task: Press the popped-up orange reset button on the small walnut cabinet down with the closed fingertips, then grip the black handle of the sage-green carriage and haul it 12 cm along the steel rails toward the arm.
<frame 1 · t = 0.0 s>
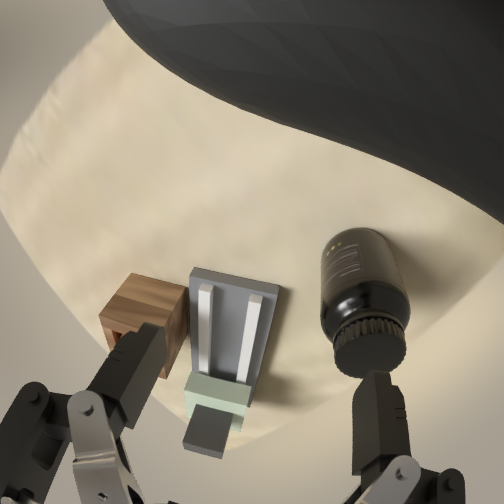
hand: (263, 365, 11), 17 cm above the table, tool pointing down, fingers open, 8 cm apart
supplement bottle: (356, 256, 27), on the table
reset button: (133, 349, 29), point 7 cm above the table, slide at 0.0 cm
carriage: (211, 422, 35), point 8 cm above the table, slide at 0.0 cm
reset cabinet: (159, 305, 35), on the table
track: (228, 349, 37), on the table
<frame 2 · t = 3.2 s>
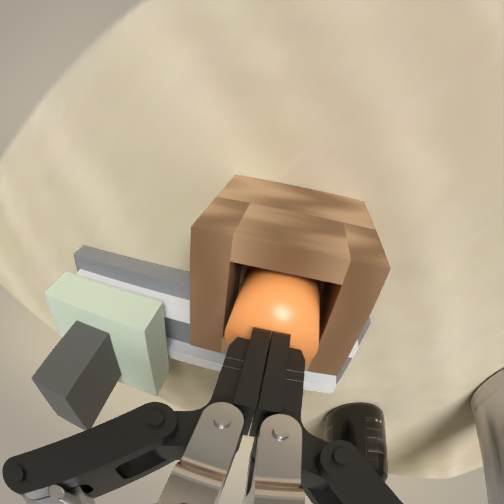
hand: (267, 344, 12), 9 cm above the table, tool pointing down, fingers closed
supplement bottle: (354, 414, 29), on the table
reset button: (277, 311, 13), point 7 cm above the table, slide at 0.3 cm, touching gripper
carriage: (90, 362, 19), point 8 cm above the table, slide at 0.0 cm
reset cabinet: (289, 237, 20), on the table
track: (208, 320, 25), on the table
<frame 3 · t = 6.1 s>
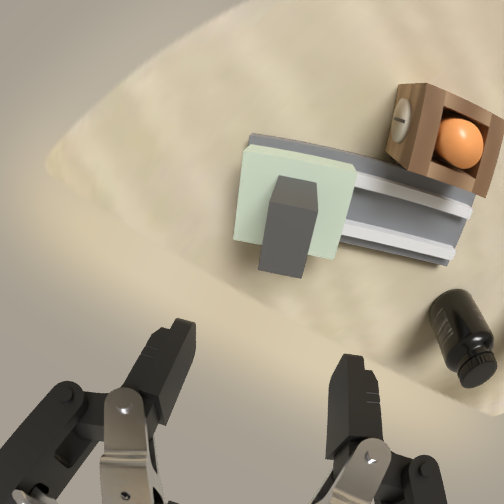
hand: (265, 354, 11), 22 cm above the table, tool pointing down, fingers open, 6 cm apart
supplement bottle: (450, 306, 33), on the table
reset button: (453, 139, 19), point 6 cm above the table, slide at 1.5 cm, touching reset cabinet
carriage: (291, 214, 23), point 8 cm above the table, slide at 0.0 cm
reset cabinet: (428, 129, 24), on the table
track: (362, 199, 29), on the table
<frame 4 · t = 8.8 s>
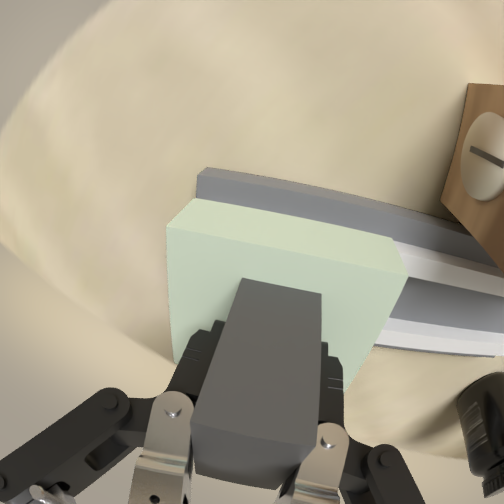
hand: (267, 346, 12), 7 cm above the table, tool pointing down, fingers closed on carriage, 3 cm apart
supplement bottle: (483, 388, 21), on the table
carriage: (265, 359, 11), point 8 cm above the table, slide at 0.0 cm, touching gripper
track: (393, 278, 17), on the table
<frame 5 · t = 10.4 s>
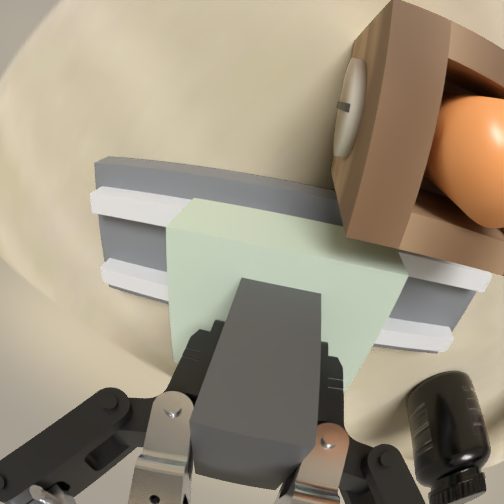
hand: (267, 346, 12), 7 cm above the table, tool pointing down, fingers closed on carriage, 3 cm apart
supplement bottle: (438, 388, 22), on the table
reset button: (473, 150, 7), point 6 cm above the table, slide at 1.5 cm, touching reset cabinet
carriage: (265, 359, 11), point 8 cm above the table, slide at 6.6 cm, touching gripper
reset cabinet: (417, 127, 13), on the table
track: (292, 257, 18), on the table
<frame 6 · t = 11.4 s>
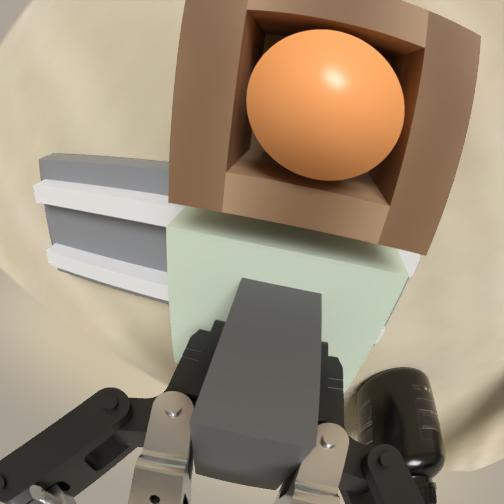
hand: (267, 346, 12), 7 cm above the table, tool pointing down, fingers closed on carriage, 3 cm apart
supplement bottle: (393, 386, 22), on the table
reset button: (323, 102, 8), point 6 cm above the table, slide at 1.5 cm, touching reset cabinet
carriage: (265, 359, 11), point 8 cm above the table, slide at 11.9 cm, touching gripper
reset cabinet: (317, 99, 13), on the table
track: (204, 239, 18), on the table
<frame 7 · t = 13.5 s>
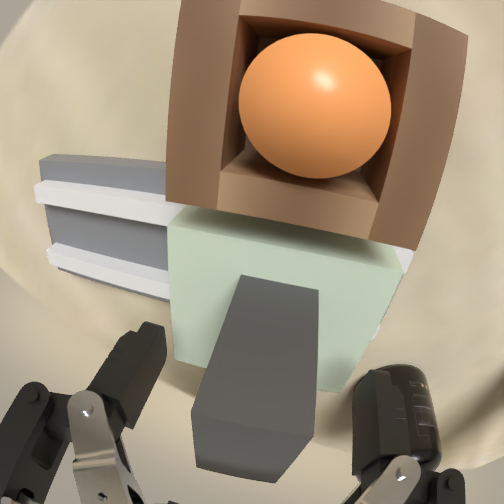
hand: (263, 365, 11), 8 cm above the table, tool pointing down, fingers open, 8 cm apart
supplement bottle: (390, 383, 23), on the table
reset button: (314, 103, 8), point 6 cm above the table, slide at 1.5 cm, touching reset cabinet
carriage: (264, 354, 11), point 8 cm above the table, slide at 12.0 cm
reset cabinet: (311, 100, 13), on the table
track: (202, 238, 18), on the table
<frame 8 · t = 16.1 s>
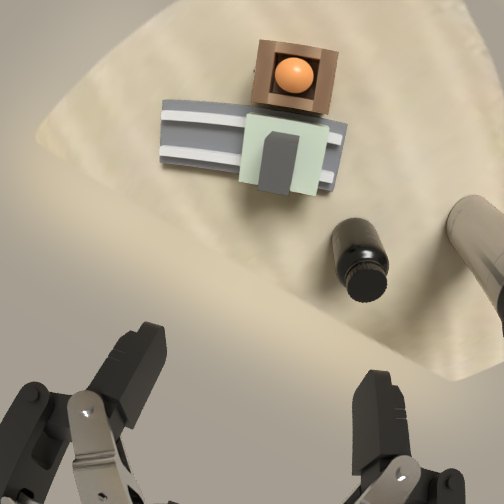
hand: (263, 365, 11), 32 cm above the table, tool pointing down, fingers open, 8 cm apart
supplement bottle: (354, 237, 42), on the table
reset button: (295, 76, 27), point 6 cm above the table, slide at 1.5 cm, touching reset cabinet
carriage: (281, 157, 31), point 8 cm above the table, slide at 12.0 cm
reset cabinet: (297, 79, 33), on the table
track: (248, 139, 38), on the table
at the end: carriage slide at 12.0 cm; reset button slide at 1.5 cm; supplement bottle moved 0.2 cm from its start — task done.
